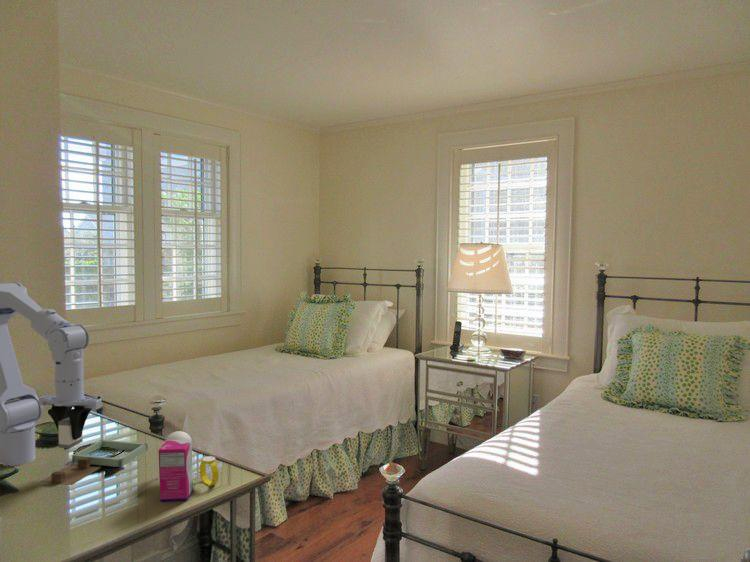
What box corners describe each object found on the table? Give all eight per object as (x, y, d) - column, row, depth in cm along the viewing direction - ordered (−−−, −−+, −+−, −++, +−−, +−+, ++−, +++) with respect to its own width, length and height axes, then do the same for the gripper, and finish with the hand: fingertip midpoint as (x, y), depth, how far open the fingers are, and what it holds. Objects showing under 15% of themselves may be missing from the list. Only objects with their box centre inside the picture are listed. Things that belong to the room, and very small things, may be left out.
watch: (221, 486, 126) (222, 461, 125) (210, 490, 123) (211, 465, 123) (207, 477, 130) (208, 452, 129) (196, 480, 128) (197, 455, 127)
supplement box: (166, 490, 123) (165, 439, 122) (193, 489, 123) (193, 438, 122) (158, 502, 117) (157, 449, 116) (187, 501, 118) (187, 448, 117)
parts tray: (72, 465, 135) (72, 455, 135) (101, 449, 146) (101, 439, 146) (121, 470, 133) (121, 459, 133) (147, 453, 144) (147, 443, 143)
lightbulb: (183, 485, 125) (183, 437, 124) (158, 482, 126) (158, 435, 126) (197, 474, 131) (197, 428, 130) (173, 471, 132) (173, 426, 132)
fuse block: (39, 485, 124) (39, 472, 124) (71, 467, 134) (71, 456, 134) (71, 488, 123) (71, 476, 122) (101, 470, 132) (101, 458, 132)
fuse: (58, 447, 126) (58, 421, 125) (72, 440, 130) (72, 415, 130) (69, 448, 125) (68, 422, 125) (82, 441, 130) (82, 416, 129)
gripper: (27, 381, 124) (29, 441, 125) (86, 385, 121) (87, 446, 122) (51, 374, 131) (52, 430, 132) (107, 377, 128) (108, 435, 129)
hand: (70, 437), depth 128 cm, fingers closed on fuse, 3 cm apart
